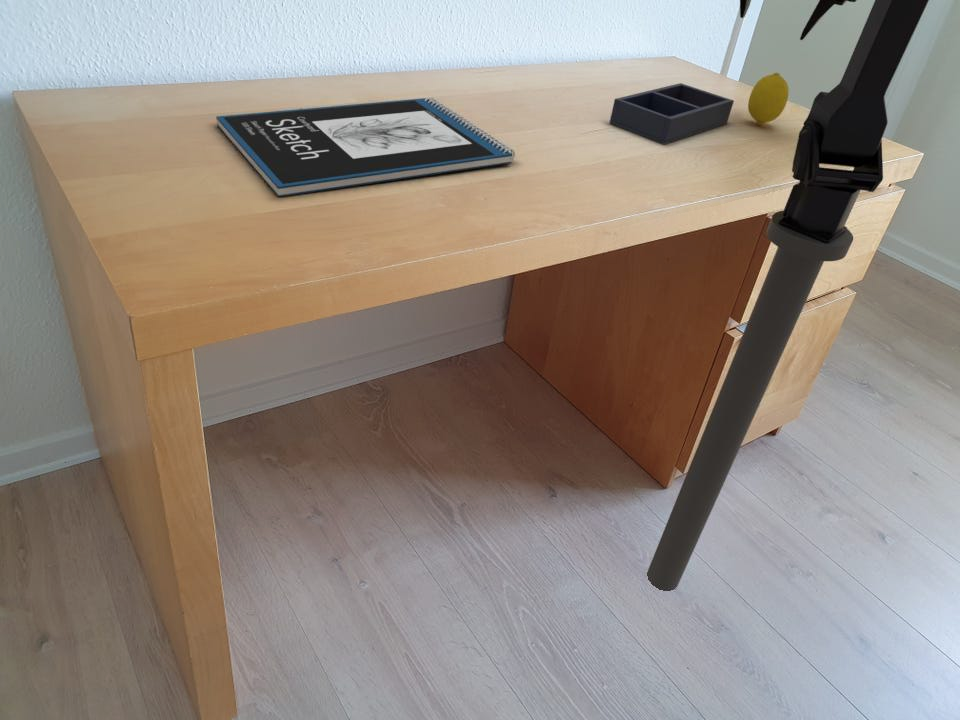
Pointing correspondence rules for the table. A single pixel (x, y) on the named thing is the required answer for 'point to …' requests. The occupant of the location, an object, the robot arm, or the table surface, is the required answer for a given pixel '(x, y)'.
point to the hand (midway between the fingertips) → (771, 28)
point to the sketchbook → (359, 144)
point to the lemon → (768, 98)
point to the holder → (670, 112)
